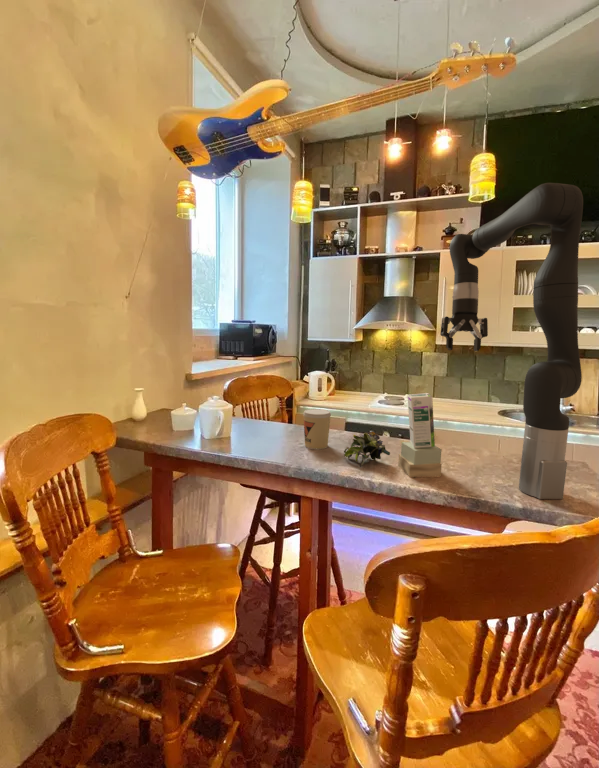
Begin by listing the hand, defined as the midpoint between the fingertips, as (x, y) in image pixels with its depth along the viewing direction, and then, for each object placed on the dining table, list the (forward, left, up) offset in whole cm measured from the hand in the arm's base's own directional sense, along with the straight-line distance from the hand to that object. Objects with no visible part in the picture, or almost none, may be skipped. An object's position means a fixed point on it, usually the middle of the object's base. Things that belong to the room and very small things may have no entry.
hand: (463, 350), depth 129 cm
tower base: (-17, +18, -34) cm, 42 cm away
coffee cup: (+7, +45, -34) cm, 57 cm away
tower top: (-17, +18, -30) cm, 39 cm away
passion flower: (-10, +32, -34) cm, 48 cm away
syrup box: (-17, +18, -26) cm, 36 cm away
